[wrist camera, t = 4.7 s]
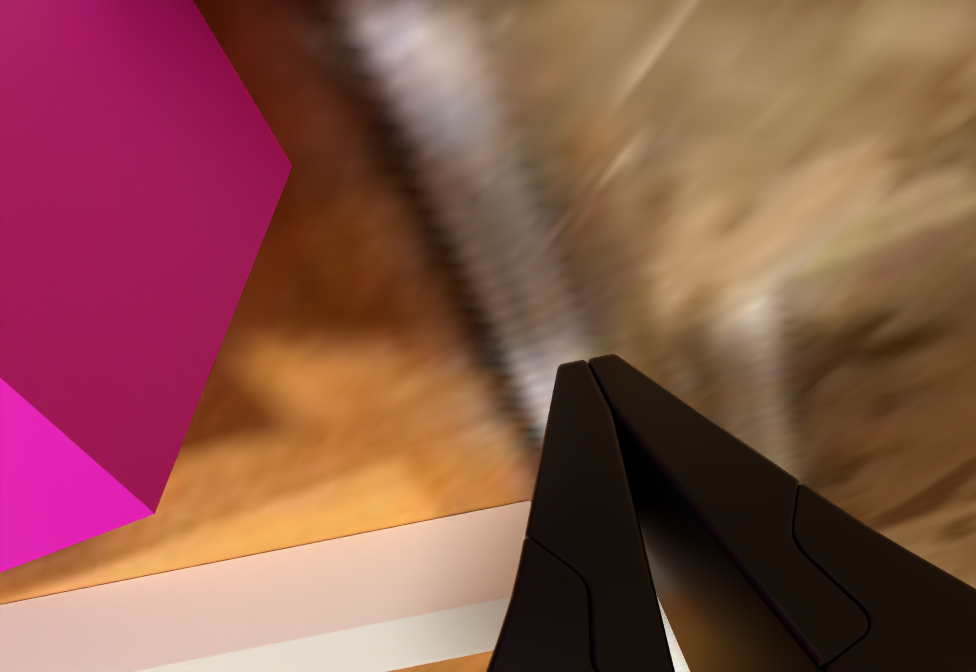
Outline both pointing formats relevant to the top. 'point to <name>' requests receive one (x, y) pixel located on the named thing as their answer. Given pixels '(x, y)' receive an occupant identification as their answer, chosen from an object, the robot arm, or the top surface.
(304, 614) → the chute
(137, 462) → the toy block
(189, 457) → the top surface
